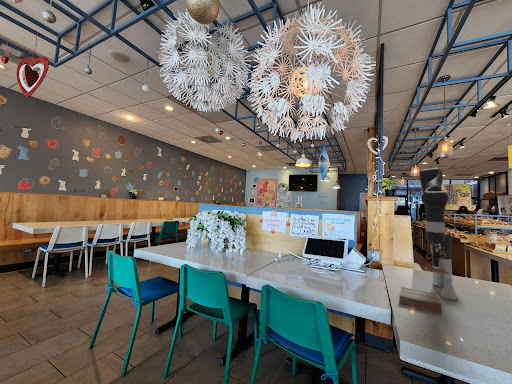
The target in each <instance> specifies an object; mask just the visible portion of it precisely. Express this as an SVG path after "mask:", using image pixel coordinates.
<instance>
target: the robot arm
mask: <svg viewBox="0 0 512 384" xmlns="http://www.w3.org/2000/svg"><path fill="white" fill-rule="evenodd" d="M418 177H419V181H420V185H421V190H422V194H421V198H420V199H421V203H422V204H423V205H424V210H425V211H424V212H425V240H427V241H428V242H429V247H430V253H432V254H431V259H432V258H433V262H432V267H433V266H434V268H435V269H439V268H441V267H442V266H443V267H444V268H441V269H442V270H444V269H445V270H447V271H448V274H444V273H438V272H432V284H433V285H434V286H437V287H441V288H444V285H445V278H450V279H452V280H453V269H452V268H453V267H452V264H453V263H452V249H453V248H452V246H453V245H452V244H453V243H452V242H453V240H452V235H451V234H450V233H449V232H446V226H445V211H446V207H447V204H448V201H449V195H448V193H447V192H445V191H443V190H442V188H443V187H442V186H443V180H444V175H443V171H442V169H441V168H440V167H432V168H427V169H420V170H419V172H418ZM442 248H443V249H442ZM441 249H442V250H441ZM443 251H444V252H443ZM441 252H442V253H443V254H446V257H444V256H445V255H443V254H441ZM445 252H446V253H445ZM440 254H441V255H440ZM436 255H438V256H436ZM442 257H444V258H442ZM439 259H440V263H441V264H442V265H441V264H440V263H439ZM438 267H439V268H438Z"/></svg>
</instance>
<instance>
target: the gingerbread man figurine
mask: <svg viewBox="0 0 512 384" xmlns="http://www.w3.org/2000/svg"><path fill="white" fill-rule="evenodd" d="M443 252H444V251H443ZM445 253H446V252H445ZM441 254H443V253H442V252H441ZM441 254H440V255H441ZM428 255H432V253H431V252H429V253H427V254H426V255H425V259H426V260H427V261H430V260H431V262H430V263H429V264H428V266H425V267H424V271H427V272H432V273H433V272H438V273H444V274H448V271H447V270H445V269H444V270H442V269H441V268H444V267H443V266H442V267H441V268H439V267H438V268H439V269H435V268H434V266H433V265H431V264H433V258H432V256H430V257H429V256H428ZM443 255H445V256H444V257H446V254H443ZM436 256H438V255H436ZM444 257H442V258H444ZM439 263H440V259H439ZM440 264H441V263H440ZM441 265H442V264H441Z"/></svg>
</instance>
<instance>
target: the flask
mask: <svg viewBox="0 0 512 384" xmlns="http://www.w3.org/2000/svg"><path fill="white" fill-rule="evenodd" d="M439 296H440V297H442V298H444V299H446V300H450V301H451V300H452V301H458V300H459V298H458V295H457V294H456V291H455V289H454V286H453V278H452V279H450V278H445V285H444V287H442V290H441V292H440V295H439Z"/></svg>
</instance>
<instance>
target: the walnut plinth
mask: <svg viewBox="0 0 512 384" xmlns="http://www.w3.org/2000/svg"><path fill="white" fill-rule="evenodd" d="M399 292H400V293H399V305H403V306H407V307H412V308H415V309H420V310H423V311H427V310H428V311H427V312H431V311H432V313H435V312H436V314H439V313H440V314H439V315H443V308H442V302H441V298H440V297H441V296H440V295H439V294H438V293H433V292H428V291H424V290H419V289H414V288H409V287H405V286H404V287H403V286H401V287H400V290H399Z"/></svg>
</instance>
